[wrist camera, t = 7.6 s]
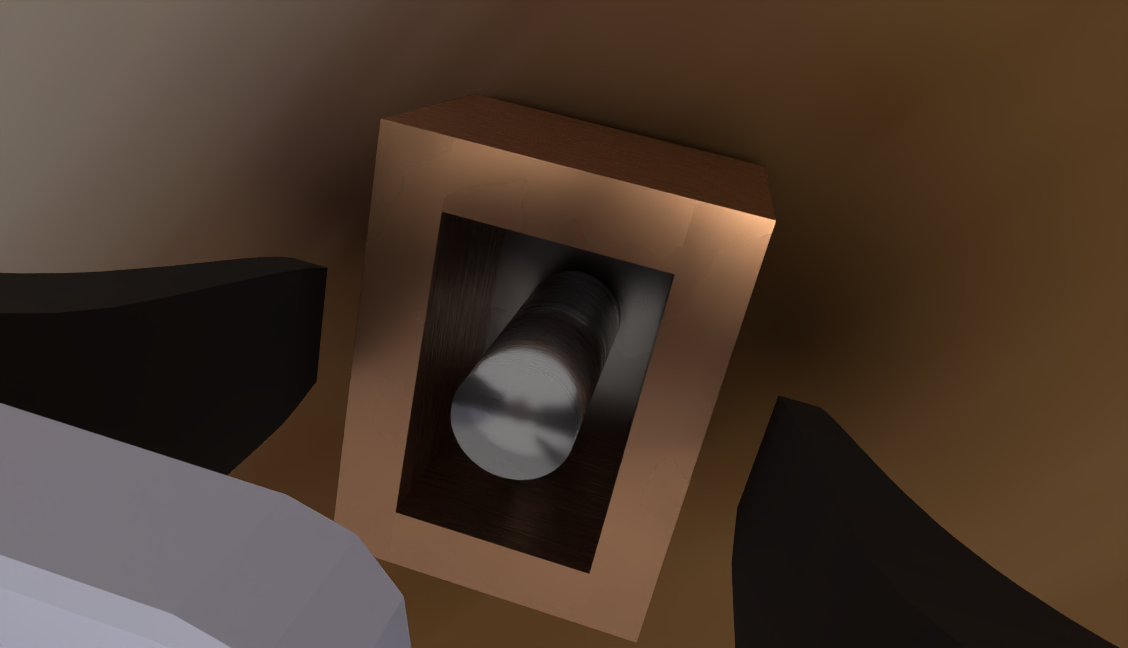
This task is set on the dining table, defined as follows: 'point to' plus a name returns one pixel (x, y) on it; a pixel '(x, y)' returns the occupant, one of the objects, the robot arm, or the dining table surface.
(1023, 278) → the dining table surface
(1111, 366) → the dining table surface
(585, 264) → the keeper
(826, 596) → the robot arm
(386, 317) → the copper rectangular sleeve
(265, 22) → the dining table surface
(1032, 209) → the dining table surface
